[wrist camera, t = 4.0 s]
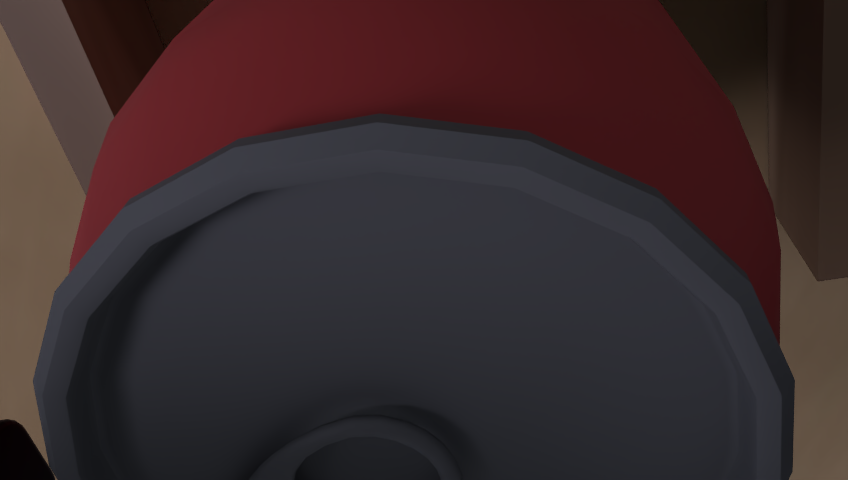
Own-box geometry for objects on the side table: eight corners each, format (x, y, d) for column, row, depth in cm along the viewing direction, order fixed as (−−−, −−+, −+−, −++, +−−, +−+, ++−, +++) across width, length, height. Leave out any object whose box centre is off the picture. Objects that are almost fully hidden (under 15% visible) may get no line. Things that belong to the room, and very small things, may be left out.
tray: (847, -539, 12) (950, -618, 9) (826, 196, 18) (884, 271, 15) (-34, -276, 14) (-149, -280, 11) (212, 294, 20) (174, 373, 18)
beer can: (220, -11, 16) (-225, 406, 6) (485, -255, 14) (506, -257, 4) (427, 218, 19) (365, 793, 8) (684, 44, 16) (1031, 554, 6)
